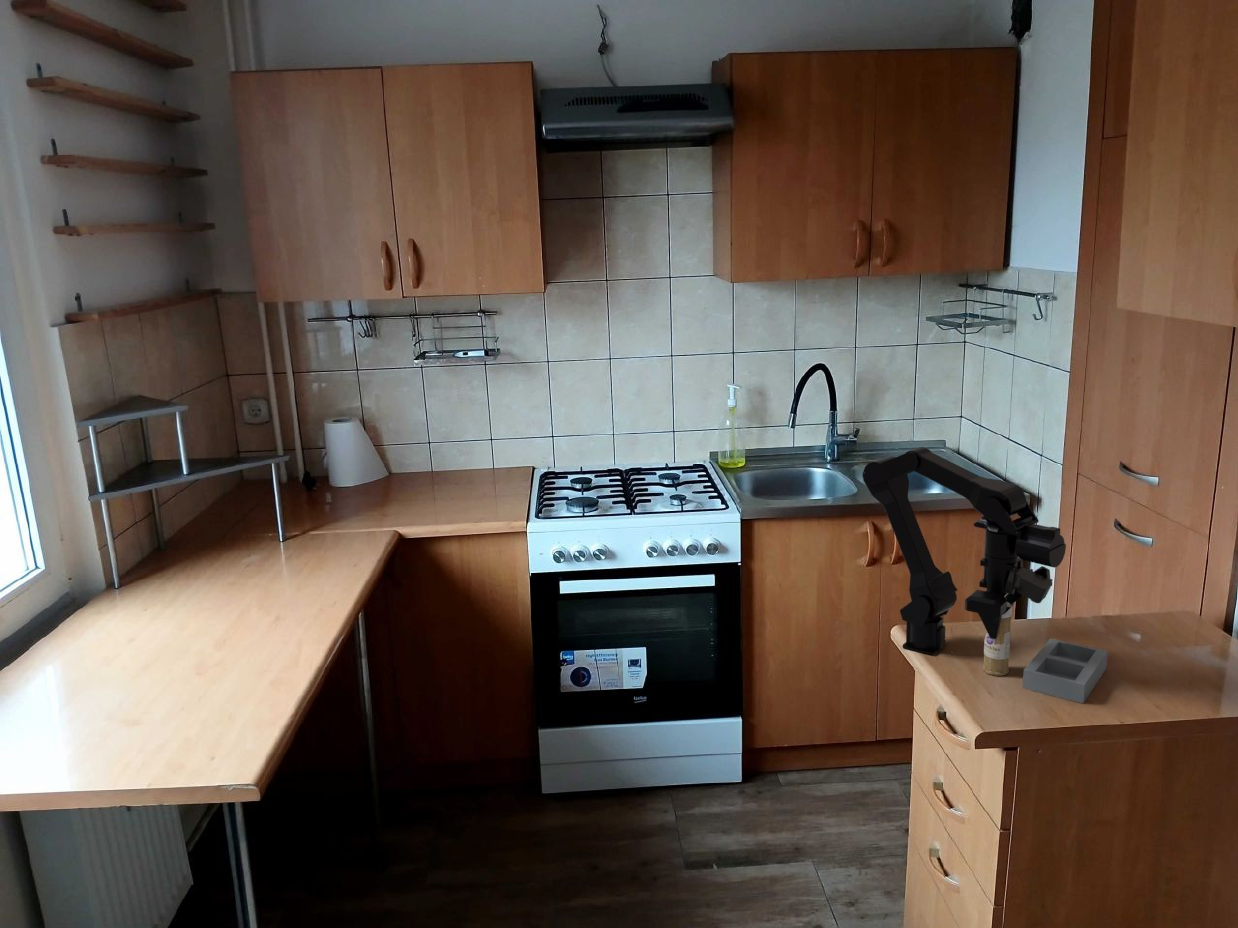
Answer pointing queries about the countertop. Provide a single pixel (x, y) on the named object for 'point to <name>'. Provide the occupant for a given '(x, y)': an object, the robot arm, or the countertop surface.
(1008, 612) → the sprinkles bottle
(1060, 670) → the slot caddy
